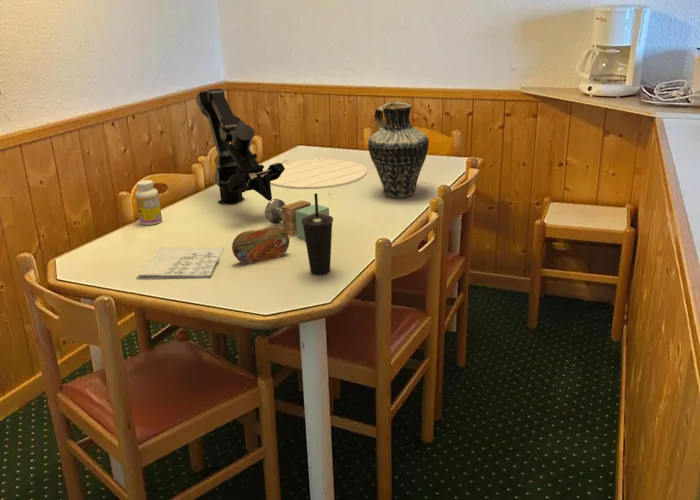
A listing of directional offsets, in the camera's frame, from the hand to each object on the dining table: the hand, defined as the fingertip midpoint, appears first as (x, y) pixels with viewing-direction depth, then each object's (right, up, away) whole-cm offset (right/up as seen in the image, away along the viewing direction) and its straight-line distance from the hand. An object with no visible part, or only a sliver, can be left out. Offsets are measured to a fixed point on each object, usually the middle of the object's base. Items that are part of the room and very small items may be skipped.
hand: (270, 199), depth 195 cm
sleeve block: (+9, -9, -5) cm, 14 cm away
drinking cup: (+16, -20, -32) cm, 41 cm away
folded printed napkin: (-19, -19, -24) cm, 36 cm away
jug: (+39, +4, +25) cm, 47 cm away
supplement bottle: (-37, -7, +7) cm, 39 cm away
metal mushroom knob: (+6, -8, -2) cm, 10 cm away
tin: (+1, -17, -23) cm, 29 cm away
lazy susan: (+10, +13, +53) cm, 55 cm away
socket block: (+13, -11, -9) cm, 20 cm away
